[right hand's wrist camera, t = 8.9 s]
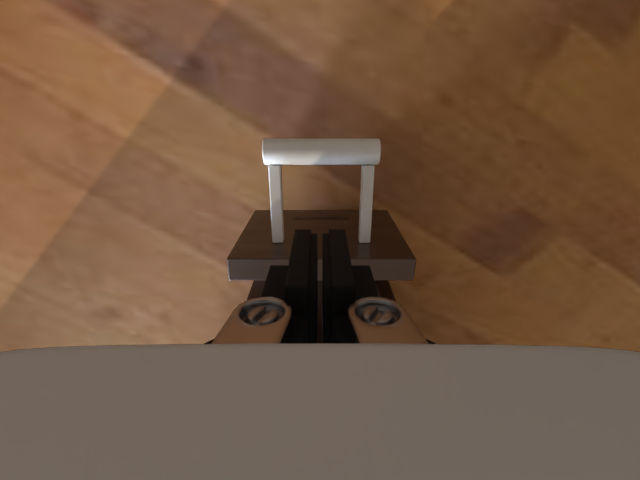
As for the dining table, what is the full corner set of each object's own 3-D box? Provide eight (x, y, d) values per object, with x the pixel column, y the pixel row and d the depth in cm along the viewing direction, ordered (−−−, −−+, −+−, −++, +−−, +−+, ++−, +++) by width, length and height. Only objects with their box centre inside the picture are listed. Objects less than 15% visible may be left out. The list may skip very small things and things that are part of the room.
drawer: (249, 129, 22) (213, 144, 15) (393, 129, 22) (429, 144, 15) (268, 394, 30) (251, 490, 23) (373, 395, 30) (390, 490, 23)
